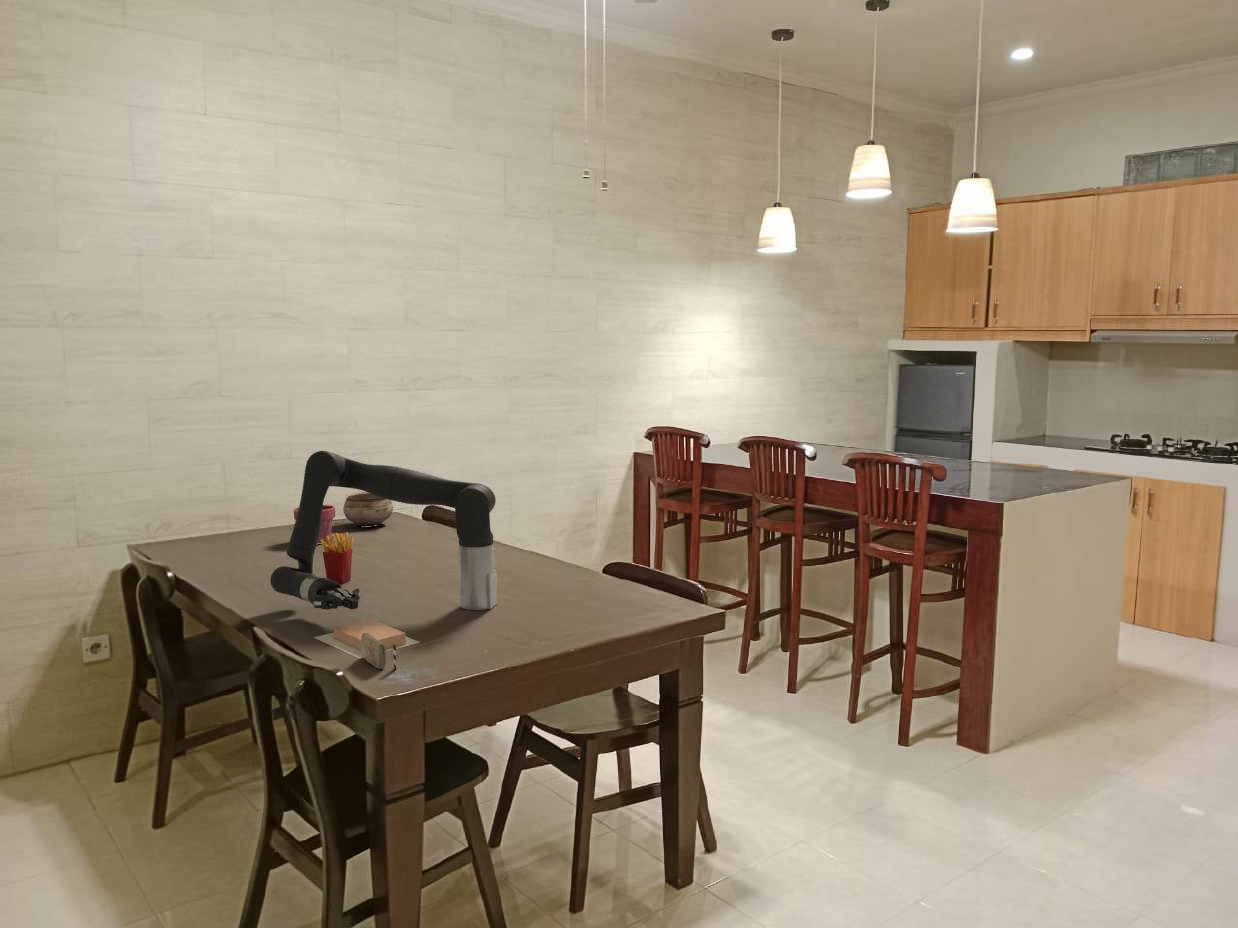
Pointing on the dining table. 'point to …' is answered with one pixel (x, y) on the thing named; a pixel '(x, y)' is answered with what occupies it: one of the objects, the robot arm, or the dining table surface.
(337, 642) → the mat
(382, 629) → the tile
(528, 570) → the dining table surface
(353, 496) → the cooking pot
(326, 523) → the plant pot
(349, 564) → the french fries
